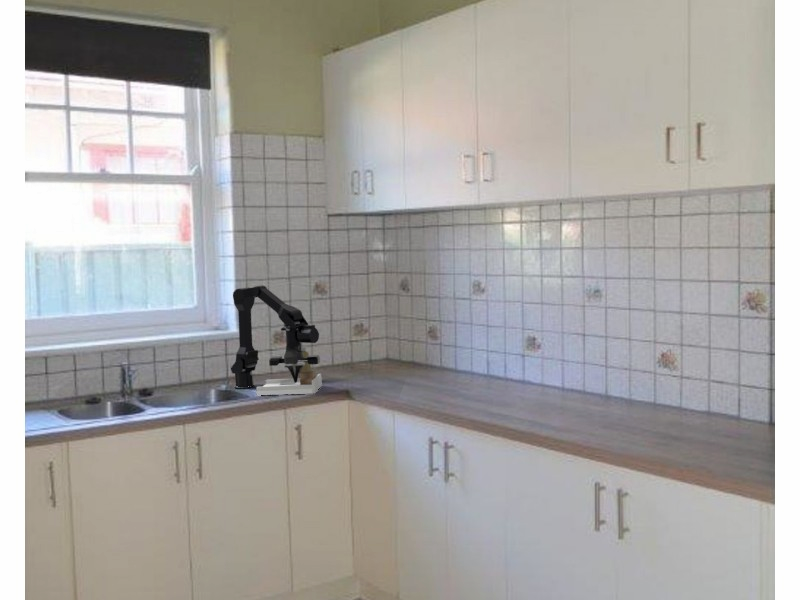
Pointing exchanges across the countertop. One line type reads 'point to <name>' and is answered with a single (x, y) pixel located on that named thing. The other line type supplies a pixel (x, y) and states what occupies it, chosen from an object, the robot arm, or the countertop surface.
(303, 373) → the block
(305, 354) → the squeeze bottle
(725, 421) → the countertop surface
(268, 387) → the board
